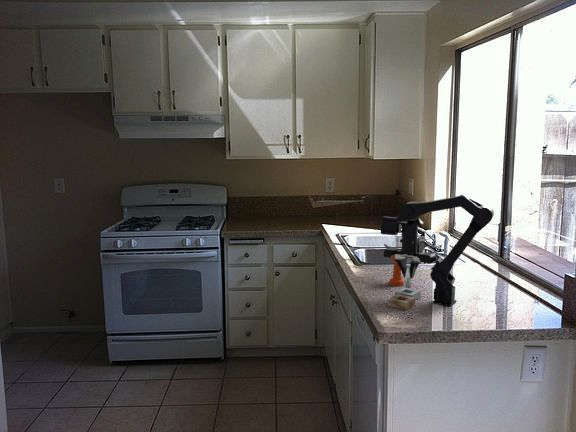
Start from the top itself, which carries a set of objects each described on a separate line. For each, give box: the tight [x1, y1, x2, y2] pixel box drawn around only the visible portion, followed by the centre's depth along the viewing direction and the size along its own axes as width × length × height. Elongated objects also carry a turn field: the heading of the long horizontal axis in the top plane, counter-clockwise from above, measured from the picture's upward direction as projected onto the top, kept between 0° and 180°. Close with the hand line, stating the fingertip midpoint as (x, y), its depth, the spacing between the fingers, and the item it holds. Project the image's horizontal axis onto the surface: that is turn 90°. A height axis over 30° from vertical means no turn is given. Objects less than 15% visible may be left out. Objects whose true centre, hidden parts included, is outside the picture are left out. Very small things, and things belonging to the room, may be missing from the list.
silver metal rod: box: [404, 264, 413, 289], centre depth 191 cm, size 2×2×8 cm
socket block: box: [387, 294, 416, 311], centre depth 184 cm, size 7×7×2 cm
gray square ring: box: [394, 287, 422, 301], centre depth 192 cm, size 7×7×2 cm
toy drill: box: [383, 243, 405, 287], centre depth 213 cm, size 5×19×15 cm, turn 12°
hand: (408, 277), depth 191 cm, fingers closed on silver metal rod, 2 cm apart
